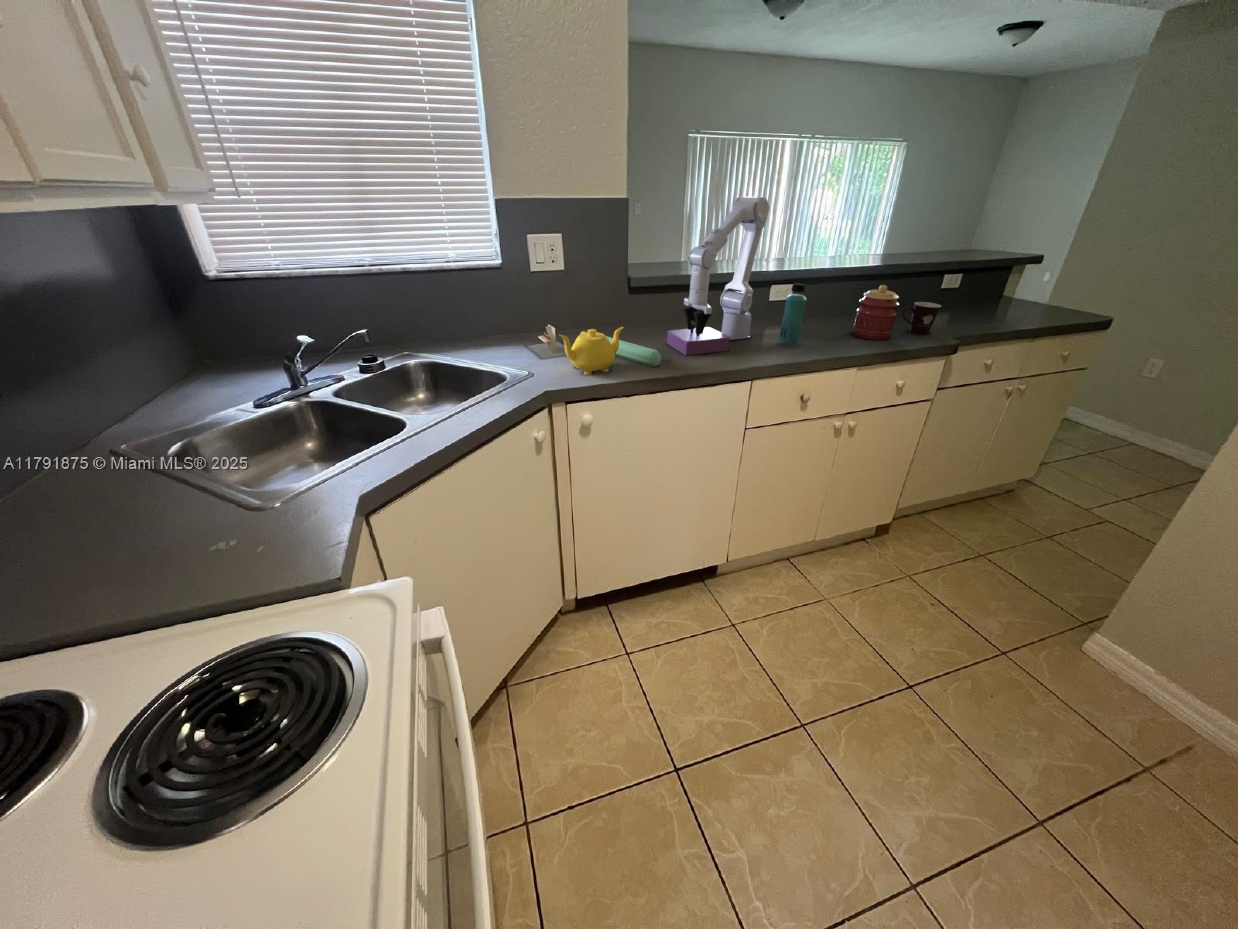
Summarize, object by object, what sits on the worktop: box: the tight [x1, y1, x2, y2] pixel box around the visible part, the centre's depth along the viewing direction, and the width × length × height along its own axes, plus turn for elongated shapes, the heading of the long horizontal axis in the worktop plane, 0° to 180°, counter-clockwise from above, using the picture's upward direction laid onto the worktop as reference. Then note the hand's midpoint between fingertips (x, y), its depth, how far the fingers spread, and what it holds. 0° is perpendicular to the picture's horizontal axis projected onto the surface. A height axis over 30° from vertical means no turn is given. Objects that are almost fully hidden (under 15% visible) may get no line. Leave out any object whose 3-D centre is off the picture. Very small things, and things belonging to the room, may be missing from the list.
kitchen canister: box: [851, 284, 901, 341], centre depth 174 cm, size 13×13×18 cm
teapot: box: [558, 326, 624, 376], centre depth 141 cm, size 20×15×12 cm
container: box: [605, 335, 662, 368], centre depth 151 cm, size 6×6×25 cm
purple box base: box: [666, 332, 730, 356], centre depth 162 cm, size 16×14×4 cm
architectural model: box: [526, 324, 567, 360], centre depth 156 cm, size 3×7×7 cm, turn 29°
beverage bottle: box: [779, 283, 807, 344], centre depth 161 cm, size 6×7×20 cm
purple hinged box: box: [667, 320, 731, 344], centre depth 160 cm, size 16×14×5 cm
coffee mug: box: [901, 301, 942, 335], centre depth 182 cm, size 12×9×10 cm
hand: (695, 331), depth 160 cm, fingers closed on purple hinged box, 5 cm apart
